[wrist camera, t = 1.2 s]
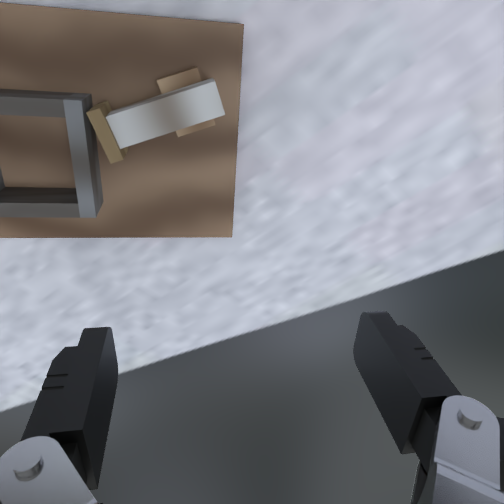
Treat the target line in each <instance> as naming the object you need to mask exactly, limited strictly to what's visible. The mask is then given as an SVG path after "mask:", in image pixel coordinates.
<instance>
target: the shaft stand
mask: <svg viewBox="0 0 504 504" xmlns="http://www.w3.org/2000/svg"><path fill="white" fill-rule="evenodd" d="M243 30H244V24H237V23H225V22H214V21H203V20H192V19H180V18H169V17H158V16H146V15H135V14H124V13H113V12H101V11H90V10H79V9H67V8H56V7H45V6H34V5H22V4H11V3H0V238H119V237H232V230H233V211H234V193H235V175H236V157H237V139H238V121H239V103H240V85H241V67H242V49H243Z"/></svg>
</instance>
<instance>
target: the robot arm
mask: <svg viewBox="0 0 504 504" xmlns="http://www.w3.org/2000/svg"><path fill="white" fill-rule="evenodd" d="M353 353H354V360H355V363H356V366H357V368H358V370H359V372H360V374H361V376H362V378H363V379H364V382H365V384H366V385H367V387H368V389H369V392H370V393H371V395H372V397H373V399H374V401H375V403H376V405H377V407H378V409H379V411H380V413H381V415H382V417H383V419H384V421H385V423H386V425H387V427H388V429H389V431H390V433H391V435H392V437H393V439H394V441H395V443H396V445H397V446H398V449H399V451H400V453H401V454H408V453H416V454H417V456H418V457H419V459H420V461H419V463H418V466H417V471H416V476H415V481H414V486H413V492H412V497H411V502H410V504H504V418H498V417H495V415H494V414H493V413H492V412H491V411H490V410H489V409H488V408H487V407H486V406H485V405H483V404H482V403H480V402H478V401H477V400H474V399H472V398H469V397H466V396H462V395H461V394H460V392H459V391H458V390H457V388H456V387H455V386H454V384H453V383H452V382H451V380H450V379H449V378H448V376H447V375H446V374H445V372H444V371H443V370H442V368H441V367H440V366H439V364H438V363H437V362H436V360H433V357H432V355H431V354H430V352H429V351H428V350H426V349H425V346H424V345H423V343H422V342H421V341H420V339H419V338H418V337H417V336H416V335H415V334H414V333H413V332H411V331H410V330H409V329H407V328H406V327H404V326H403V325H399V326H397V324H396V323H395V321H394V320H393V319H392V317H391V316H390V314H389V313H388V312H387V311H375V312H364V313H362V314H361V317H360V321H359V325H358V330H357V334H356V339H355V343H354V350H353ZM117 383H118V363H117V357H116V351H115V345H114V339H113V333H112V329H111V327H99V328H85V329H84V330H83V332H82V335H81V338H80V341H79V344H78V346H74V347H65V348H64V349H63V350H62V351H61V352H60V353H59V354H58V355H57V356H56V357H55V358H54V359H53V360H52V363H51V366H50V368H49V371H48V373H47V378H45V381H44V383H43V386H42V391H40V393H39V396H38V398H37V401H36V404H35V406H34V409H33V412H32V414H31V416H30V419H29V421H28V424H27V426H26V429H25V431H24V434H23V436H22V439H21V441H20V442H19V443H17V444H16V445H14V446H13V447H11V448H10V449H9V450H8V451H6V453H4V455H2V457H1V458H0V504H99V503H98V502H97V501H96V500H95V498H94V497H93V495H92V494H91V492H90V491H89V490H95V489H98V484H99V479H100V474H101V469H102V463H103V458H104V452H105V447H106V442H107V436H108V431H109V425H110V420H111V415H112V409H113V404H114V399H115V394H116V389H117ZM101 504H102V503H101Z"/></svg>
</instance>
